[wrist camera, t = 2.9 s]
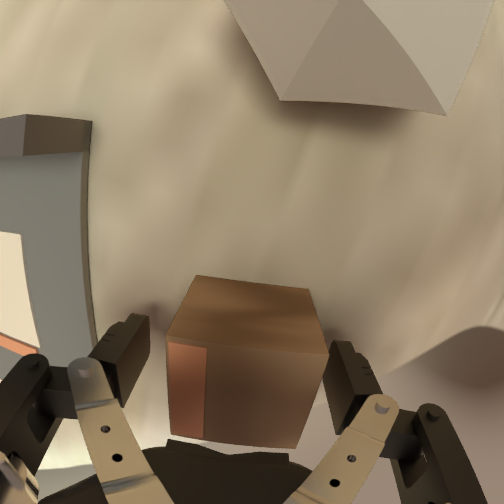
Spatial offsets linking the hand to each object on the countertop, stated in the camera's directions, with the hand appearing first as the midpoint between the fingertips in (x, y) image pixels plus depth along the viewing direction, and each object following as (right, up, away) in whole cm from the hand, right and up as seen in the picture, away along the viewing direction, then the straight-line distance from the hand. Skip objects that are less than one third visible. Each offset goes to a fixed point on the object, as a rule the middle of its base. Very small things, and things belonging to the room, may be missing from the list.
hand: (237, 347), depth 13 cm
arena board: (-15, +2, +1) cm, 15 cm away
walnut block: (0, 0, +2) cm, 2 cm away
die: (+4, +13, -3) cm, 14 cm away
